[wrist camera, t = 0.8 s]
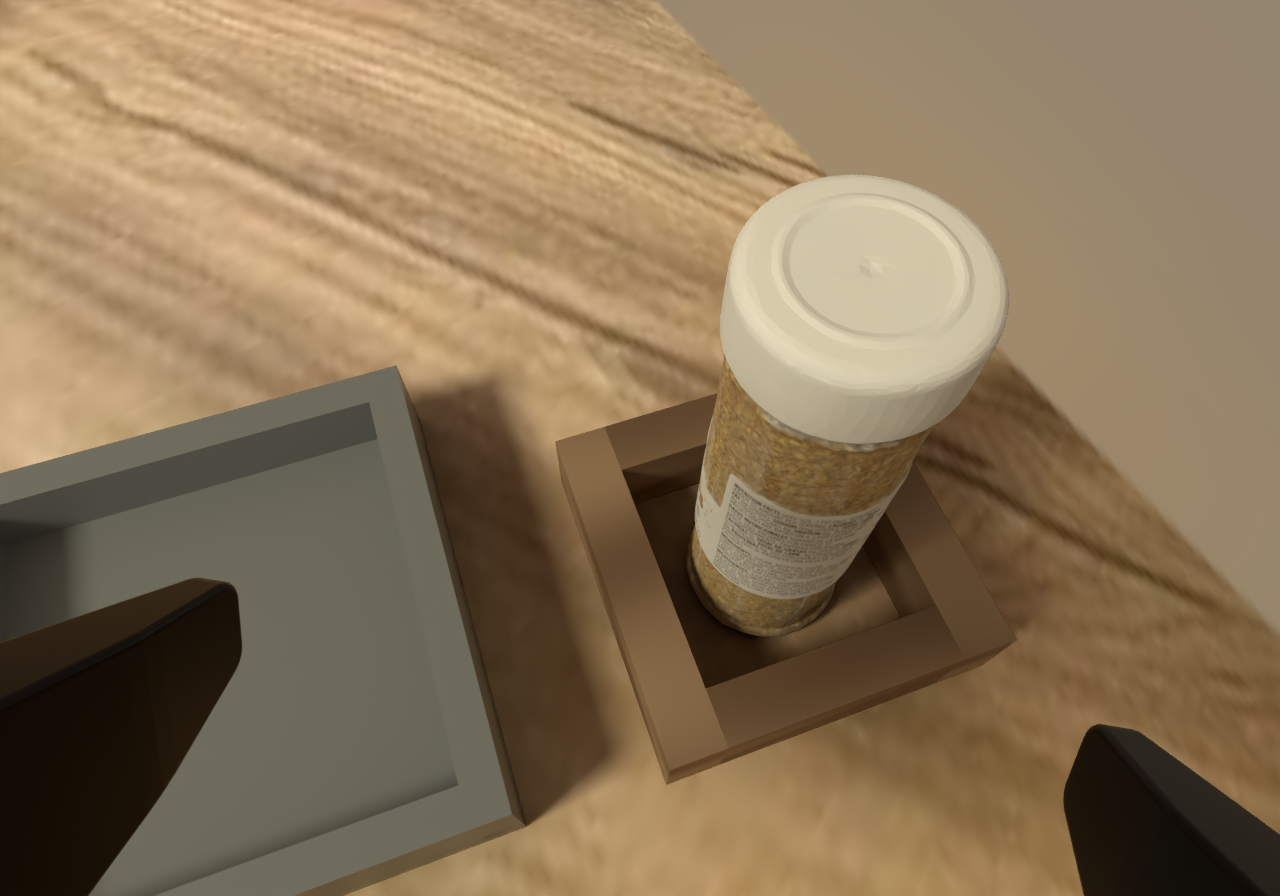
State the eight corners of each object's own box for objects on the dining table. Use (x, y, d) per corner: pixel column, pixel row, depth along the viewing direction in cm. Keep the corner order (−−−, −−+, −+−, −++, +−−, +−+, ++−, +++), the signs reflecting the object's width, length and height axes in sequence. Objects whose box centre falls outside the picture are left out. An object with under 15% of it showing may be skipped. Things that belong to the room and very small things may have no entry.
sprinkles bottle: (720, 477, 27) (791, 130, 15) (857, 536, 26) (1048, 216, 14) (658, 602, 25) (683, 315, 13) (804, 671, 24) (976, 429, 12)
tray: (526, 826, 22) (511, 814, 19) (-17, 1030, 19) (-118, 1048, 17) (418, 417, 28) (396, 365, 25) (-7, 538, 25) (-81, 495, 23)
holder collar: (981, 665, 24) (1016, 639, 22) (666, 784, 22) (670, 770, 20) (834, 397, 28) (851, 353, 26) (561, 480, 26) (555, 441, 24)
